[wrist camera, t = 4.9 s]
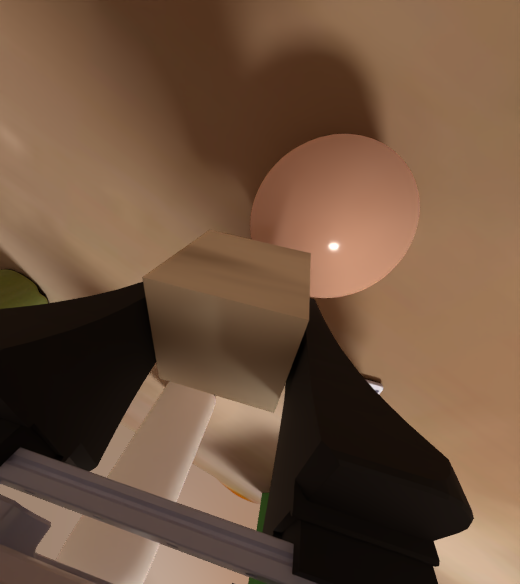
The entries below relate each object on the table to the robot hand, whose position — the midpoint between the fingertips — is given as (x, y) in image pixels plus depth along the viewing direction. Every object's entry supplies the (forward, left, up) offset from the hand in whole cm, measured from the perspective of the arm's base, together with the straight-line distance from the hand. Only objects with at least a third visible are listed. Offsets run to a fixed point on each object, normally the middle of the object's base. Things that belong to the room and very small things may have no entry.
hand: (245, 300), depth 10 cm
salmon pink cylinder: (+3, -3, -9) cm, 10 cm away
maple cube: (0, 0, -2) cm, 2 cm away
